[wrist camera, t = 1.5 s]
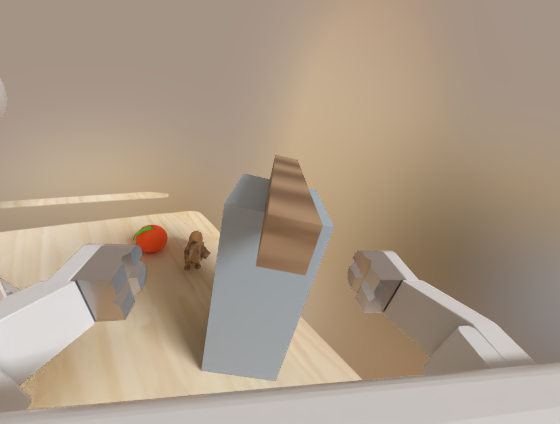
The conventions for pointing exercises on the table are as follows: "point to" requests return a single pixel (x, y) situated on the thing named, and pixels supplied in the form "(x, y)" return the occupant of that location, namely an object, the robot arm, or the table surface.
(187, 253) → the lion figurine
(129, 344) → the table surface
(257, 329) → the stand
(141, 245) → the clementine
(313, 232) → the bar
